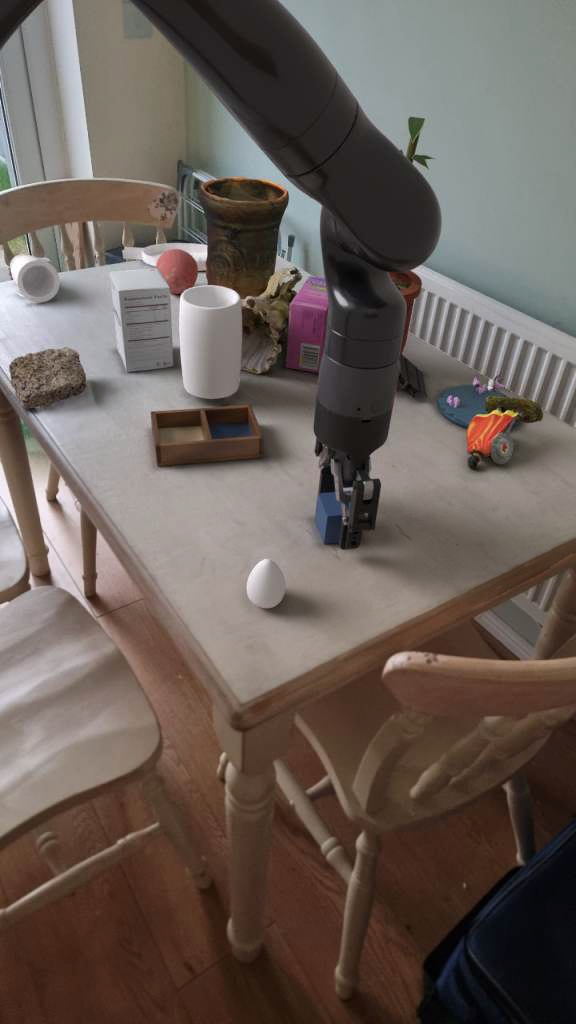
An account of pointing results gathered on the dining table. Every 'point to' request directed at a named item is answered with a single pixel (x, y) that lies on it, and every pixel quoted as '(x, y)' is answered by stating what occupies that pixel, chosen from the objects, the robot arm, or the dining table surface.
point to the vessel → (242, 232)
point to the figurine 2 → (498, 428)
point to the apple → (178, 270)
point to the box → (307, 326)
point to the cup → (210, 340)
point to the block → (329, 516)
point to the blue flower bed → (468, 401)
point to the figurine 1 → (267, 321)
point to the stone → (47, 377)
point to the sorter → (206, 435)
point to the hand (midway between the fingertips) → (337, 521)
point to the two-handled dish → (155, 251)
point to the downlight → (35, 277)
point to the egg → (266, 584)
